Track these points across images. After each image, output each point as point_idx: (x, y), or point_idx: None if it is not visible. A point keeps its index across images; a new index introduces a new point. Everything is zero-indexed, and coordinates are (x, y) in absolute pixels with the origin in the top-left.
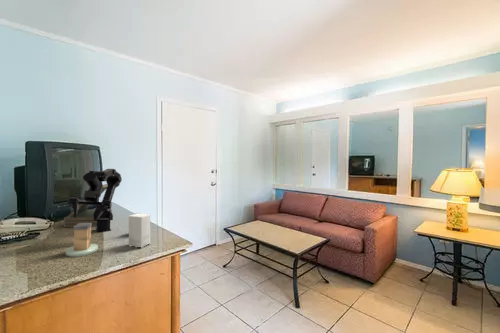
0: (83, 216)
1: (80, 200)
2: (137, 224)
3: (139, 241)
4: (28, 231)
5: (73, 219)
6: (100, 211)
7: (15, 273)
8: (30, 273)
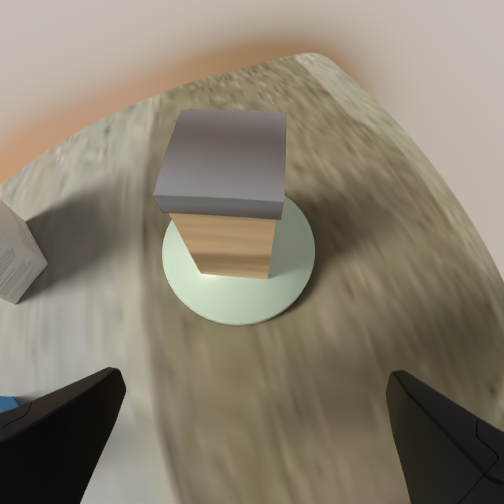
0: None
1: None
2: None
3: (11, 211)
4: None
5: None
6: (25, 410)
7: (383, 127)
8: (342, 113)
